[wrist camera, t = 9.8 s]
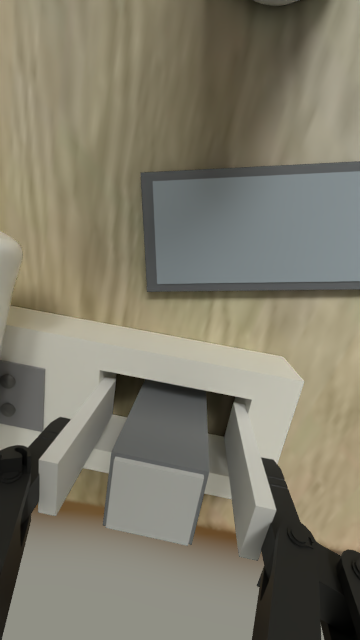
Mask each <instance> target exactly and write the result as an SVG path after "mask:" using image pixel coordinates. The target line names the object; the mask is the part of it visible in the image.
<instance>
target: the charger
mask: <svg viewBox="0 0 360 640" xmlns="http://www.w3.org/2000/svg"><path fill="white" fill-rule="evenodd" d="M208 476H209V449H208V425H207V401H206V391H205V390H200V389H195V388H190V387H184V386H179V385H174V384H169V383H164V382H159V381H154V380H149V379H145V381H144V383H143V385H142V387H141V389H140V391H139V393H138V396H137V398H136V400H135V402H134V404H133V406H132V408H131V411H130V413H129V415H128V417H127V419H126V421H125V423H124V426H123V428H122V430H121V432H120V434H119V436H118V439H117V441H116V443H115V445H114V447H113V449H112V451H111V460H110V468H109V477H108V485H107V494H106V502H105V512H104V520H103V525H104V526H106V528H109V529H114V530H118V531H123V532H128V533H132V534H137V535H141V536H146V537H150V538H155V539H159V540H164V541H169V542H173V543H177V544H182V545H186V546H188V544H190V545H191V544H192V541H193V537H194V533H195V529H196V525H197V521H198V517H199V512H200V508H201V504H202V500H203V496H204V492H205V488H206V484H207V480H208Z"/></svg>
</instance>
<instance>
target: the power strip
mask: <svg viewBox="0 0 360 640" xmlns="http://www.w3.org/2000/svg"><path fill="white" fill-rule="evenodd" d="M117 373H118V374H123V375H128V376H133V377H138V378H143V379H149V380H154V381H159V382H164V383H169V384H174V385H179V386H184V387H190V388H195V389H200V390H205V391H210V392H215V393H220V394H226V395H231V396H235V400H234V402H235V403H240V404H245V405H246V409H247V412H248V415H249V418H250V422H251V425H252V429H253V432H254V435H255V439H256V442H257V446H258V449H259V452H260V456H261V457H263V458H267V459H272V460H274V461H275V462H276V464H277V463H278V460H279V457H280V454H281V451H282V448H283V445H284V442H285V439H286V436H287V433H288V430H289V427H290V424H291V421H292V418H293V415H294V412H295V409H296V406H297V403H298V400H299V397H300V394H301V390H302V387H303V384H304V380H303V379H302V378H301V377H300V376H299V375H298V373H297V372H296V371H295V370H294V369H293V368H292V366H291V365H290V364H289V363H288V362H287V361H286V359H285V358H284V357H283V356H278V355H272V354H267V353H261V352H256V351H251V350H245V349H240V348H235V347H229V346H224V345H219V344H213V343H208V342H203V341H197V340H192V339H187V338H181V337H176V336H171V335H165V334H160V333H155V332H149V331H144V330H139V329H133V328H128V327H123V326H117V325H112V324H106V323H101V322H96V321H90V320H85V319H80V318H74V317H69V316H64V315H58V314H53V313H48V312H42V311H37V310H32V309H26V308H21V307H16V306H10V308H9V313H8V318H7V323H6V328H5V333H4V338H3V343H2V348H1V353H0V450H2V449H5V448H7V447H10V446H15V445H23V446H26V447H29V446H30V445H31V443H32V442H33V441H34V440H35V439H36V438H38V436H39V435H40V434H41V432H42V431H44V429H45V428H46V427H47V426H48V425H49V424H50V422H52V421H54V420H55V419H57V418H59V417H64V418H68V419H72V417H73V416H74V415H75V414H76V412H77V411H78V410H79V409H80V407H81V406H82V405H83V403H84V402H85V401H86V400H87V398H88V397H89V396H90V395H91V393H92V392H93V391H94V390H95V388H96V387H97V386H98V385H99V383H100V382H101V381H102V380H103V378H104V377H108V378H113V379H116V375H117ZM126 419H127V417H123V416H118V415H113V414H112V417H111V418H110V420H109V422H108V424H107V425H106V427H105V429H104V431H103V433H102V434H101V436H100V438H99V440H98V442H97V443H96V445H95V447H94V449H93V451H92V452H91V454H90V456H89V458H88V460H87V461H86V463H85V465H84V467H83V468H85V469H90V470H95V471H100V472H104V473H109V468H110V460H111V451H112V449H113V447H114V445H115V443H116V441H117V439H118V436H119V434H120V432H121V430H122V428H123V426H124V423H125V421H126ZM208 449H209V476H208V480H207V484H206V488H205V492H204V494H209V495H213V496H218V497H223V498H228V499H232V497H231V489H230V480H229V472H228V464H227V456H226V448H225V440H224V437H223V436H218V435H213V434H208Z"/></svg>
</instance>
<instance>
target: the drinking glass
mask: <svg viewBox="0 0 360 640" xmlns="http://www.w3.org/2000/svg"><path fill="white" fill-rule="evenodd" d="M22 259H23V250H22V247H21V245H20V244H19V243H18V242H17V241H16V240H15V239H13V238H12V237H11V236H9V235H7V234H5V233H4V232H2V231H0V353H1V348H2V343H3V338H4V333H5V328H6V323H7V318H8V313H9V308H10V304H11V299H12V294H13V290H14V286H15V283H16V280H17V276H18V273H19V270H20V267H21V263H22Z"/></svg>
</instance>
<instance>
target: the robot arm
mask: <svg viewBox="0 0 360 640" xmlns="http://www.w3.org/2000/svg"><path fill="white" fill-rule="evenodd" d="M115 385H116V379H113V378H108V377H104V378H103V380H102V381H101V382H100V383H99V385H98V386H97V387H96V388H95V390H94V391H93V392H92V393H91V395H90V396H89V397H88V398H87V400H86V401H85V402H84V403H83V405H82V406H81V407H80V409H79V410H78V411H77V412H76V414H75V415H74V416H73V417H72V419H68V418H64V417H59V418H57V419H55V420H54V421H52V422H50V424H49V425H48V426H47V427H46V428H45V429H44V431H42V432H41V434H40V435H39V436H38V438H36V439H35V440H34V441H33V442H32V443H31V445H30V446H29V447H26V446H23V445H15V446H10V447H7V448H5V449H2V450H0V640H2V636H3V632H4V628H5V623H6V619H7V615H8V611H9V607H10V603H11V599H12V595H13V591H14V587H15V583H16V579H17V575H18V571H19V567H20V563H21V558H22V555H23V551H24V547H25V542H26V538H27V534H28V530H29V526H30V522H31V513H32V511H33V510H34V508H35V507H36V505H37V504H38V512H39V513H44V514H48V515H53V516H56V515H57V513H58V511H59V510H60V508H61V506H62V504H63V502H64V501H65V499H66V497H67V495H68V494H69V492H70V490H71V488H72V486H73V485H74V483H75V481H76V479H77V477H78V476H79V474H80V472H81V470H82V468H83V467H84V465H85V463H86V461H87V460H88V458H89V456H90V454H91V452H92V451H93V449H94V447H95V445H96V443H97V442H98V440H99V438H100V436H101V434H102V433H103V431H104V429H105V427H106V425H107V424H108V422H109V420H110V418H111V417H112V413H113V404H114V394H115ZM224 440H225V448H226V456H227V464H228V472H229V480H230V489H231V497H232V505H233V513H234V521H235V529H236V537H237V545H238V553H239V557H243V558H247V559H252V560H256V561H258V559H259V556H260V553H261V551H262V556H263V561H264V568H263V571H262V573H261V576H260V579H259V581H258V584H257V586H258V587H260V588H259V595H258V603H257V609H256V616H255V622H254V629H253V636H252V640H321V626H322V630H323V635H324V640H360V553H358V552H356V551H354V550H346V551H344V552H343V553H342V555H341V556H340V555H338V554H336V553H335V552H333V551H331V550H329V549H327V548H325V547H323V546H322V545H320V544H319V543H317V542H316V541H315V539H314V537H313V535H312V533H311V532H310V531H309V530H308V529H307V528H306V526H304V525H303V524H302V523H301V522H300V520H299V517H298V514H297V512H296V509H295V506H294V504H293V501H292V498H291V495H290V493H289V490H288V489H287V488H288V487H287V485H286V482H285V481H284V477H283V474H282V471H281V469H280V467H279V466H278V465H277V464H276V462H275V461H274V460H272V459H267V458H263V457H261V456H260V452H259V449H258V446H257V442H256V439H255V435H254V432H253V429H252V425H251V422H250V418H249V415H248V412H247V409H246V405H245V404H240V403H235V402H233V406H232V410H231V414H230V417H229V421H228V425H227V429H226V433H225V437H224ZM320 622H321V623H320Z"/></svg>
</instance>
